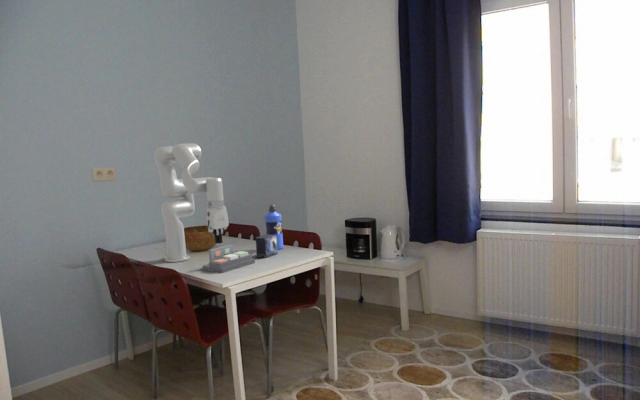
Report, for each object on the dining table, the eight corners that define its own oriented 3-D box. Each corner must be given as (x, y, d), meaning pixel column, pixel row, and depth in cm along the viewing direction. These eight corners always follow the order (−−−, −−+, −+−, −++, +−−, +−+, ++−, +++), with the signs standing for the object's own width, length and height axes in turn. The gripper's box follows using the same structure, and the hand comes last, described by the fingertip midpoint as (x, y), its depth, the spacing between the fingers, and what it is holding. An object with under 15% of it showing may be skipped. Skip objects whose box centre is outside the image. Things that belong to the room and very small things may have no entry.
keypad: (202, 269, 240) (201, 251, 239) (235, 260, 256) (233, 243, 256) (222, 272, 231) (221, 253, 231) (254, 262, 248) (253, 244, 247)
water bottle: (287, 247, 281) (283, 203, 279) (276, 251, 273) (273, 205, 271) (273, 246, 286) (270, 203, 284) (263, 250, 278) (260, 205, 276)
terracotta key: (212, 265, 237) (212, 261, 237) (221, 262, 241) (220, 258, 241) (220, 266, 234) (220, 262, 234) (228, 263, 238) (228, 259, 238)
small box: (266, 258, 257) (264, 238, 256) (256, 257, 260) (254, 237, 259) (278, 254, 266) (277, 234, 265) (268, 253, 269) (267, 234, 268)
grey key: (223, 260, 242) (222, 256, 242) (231, 257, 246) (230, 253, 246) (230, 261, 239) (230, 256, 239) (238, 258, 243) (238, 254, 243)
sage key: (233, 257, 247) (232, 253, 247) (240, 255, 251) (240, 251, 251) (240, 258, 244) (240, 254, 244) (248, 255, 248) (247, 251, 248)
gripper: (208, 206, 227) (212, 246, 229) (233, 202, 238) (236, 240, 240) (197, 206, 231) (201, 245, 233) (222, 202, 243) (225, 239, 245)
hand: (218, 242), depth 237 cm, fingers closed
